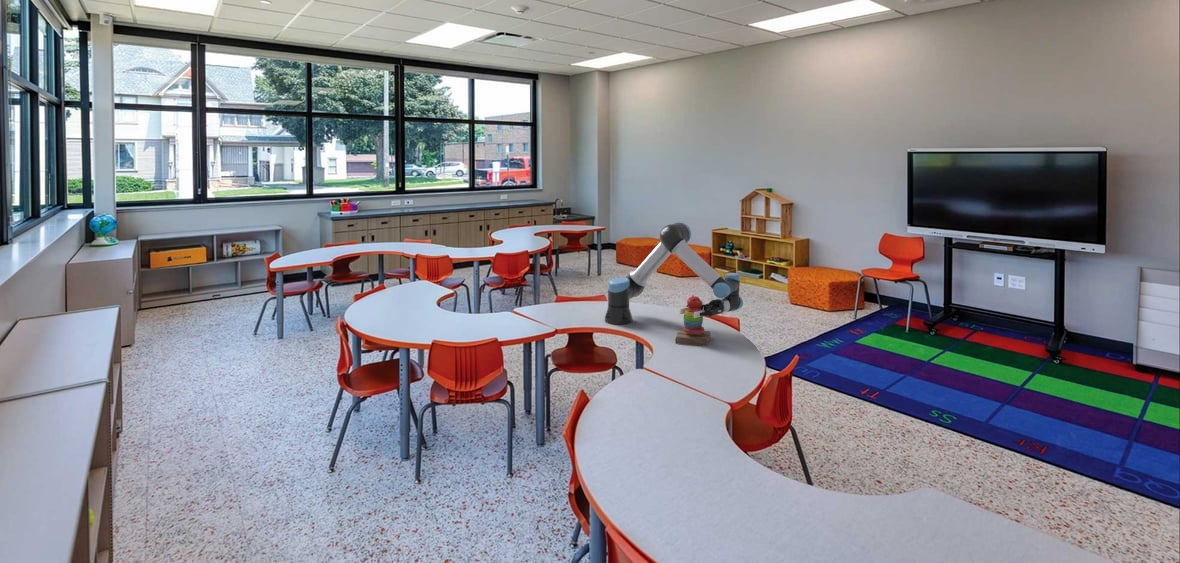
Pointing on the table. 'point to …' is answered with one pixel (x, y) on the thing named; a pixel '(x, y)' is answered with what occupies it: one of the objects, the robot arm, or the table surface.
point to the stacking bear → (690, 322)
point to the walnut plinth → (692, 338)
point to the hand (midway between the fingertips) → (687, 313)
